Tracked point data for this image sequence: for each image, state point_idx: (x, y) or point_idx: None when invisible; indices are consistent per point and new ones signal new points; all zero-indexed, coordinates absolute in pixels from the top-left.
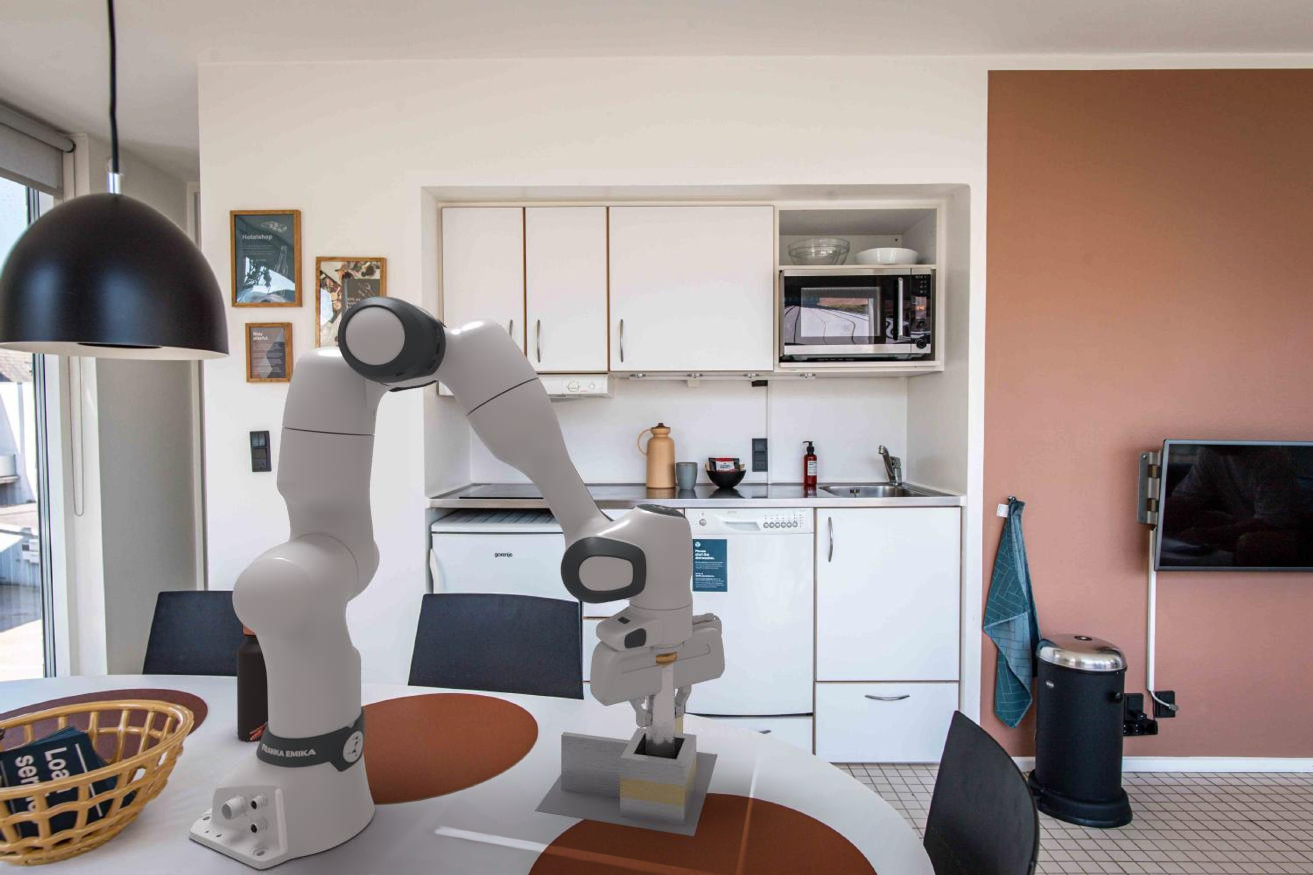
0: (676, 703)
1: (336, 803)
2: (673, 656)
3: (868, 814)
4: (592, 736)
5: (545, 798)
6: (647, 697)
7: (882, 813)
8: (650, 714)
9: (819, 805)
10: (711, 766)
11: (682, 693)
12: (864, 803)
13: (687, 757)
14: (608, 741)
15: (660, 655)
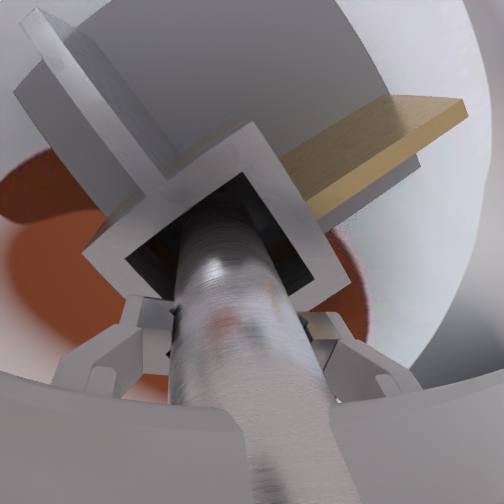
0: (326, 358)
1: None
2: None
3: (401, 364)
4: (79, 77)
5: (43, 63)
6: (168, 401)
7: (408, 367)
8: (165, 371)
9: (392, 332)
10: (383, 187)
11: (360, 394)
12: (417, 350)
13: None
14: (102, 138)
15: None
